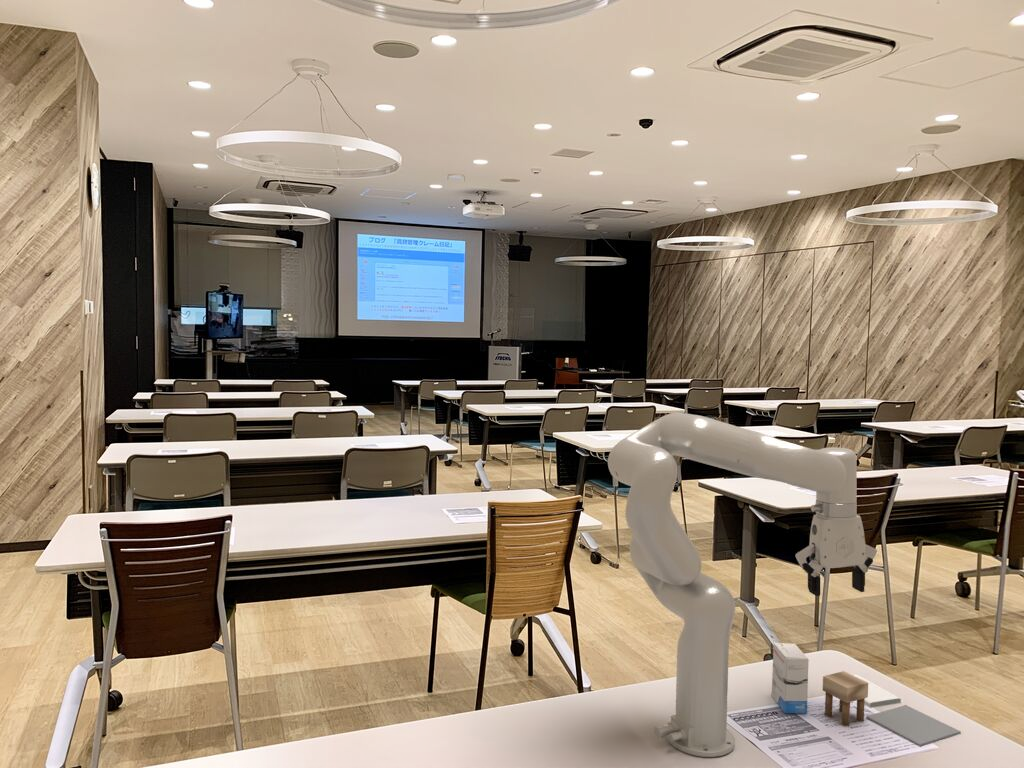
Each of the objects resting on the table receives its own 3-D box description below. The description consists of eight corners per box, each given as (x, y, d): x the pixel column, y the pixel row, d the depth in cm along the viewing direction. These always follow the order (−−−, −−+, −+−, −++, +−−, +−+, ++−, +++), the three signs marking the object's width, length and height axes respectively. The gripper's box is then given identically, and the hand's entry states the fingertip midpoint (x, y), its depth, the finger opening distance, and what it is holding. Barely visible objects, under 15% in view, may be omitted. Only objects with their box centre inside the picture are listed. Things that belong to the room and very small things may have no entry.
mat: (920, 746, 143) (920, 744, 143) (866, 718, 154) (866, 716, 154) (960, 733, 148) (960, 731, 148) (905, 706, 159) (905, 704, 159)
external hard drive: (869, 710, 159) (828, 684, 171) (900, 705, 161) (857, 680, 173) (870, 702, 159) (828, 677, 170) (901, 697, 161) (858, 673, 173)
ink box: (808, 714, 155) (810, 658, 155) (783, 714, 155) (785, 658, 155) (793, 695, 164) (795, 642, 163) (770, 695, 164) (772, 641, 163)
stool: (845, 727, 150) (847, 688, 150) (821, 714, 155) (823, 676, 155) (866, 721, 153) (868, 682, 152) (842, 708, 158) (843, 671, 158)
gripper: (806, 516, 147) (807, 601, 148) (887, 510, 150) (886, 594, 151) (786, 507, 155) (787, 589, 156) (863, 502, 157) (863, 582, 158)
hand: (836, 591), depth 153 cm, fingers open, 9 cm apart
